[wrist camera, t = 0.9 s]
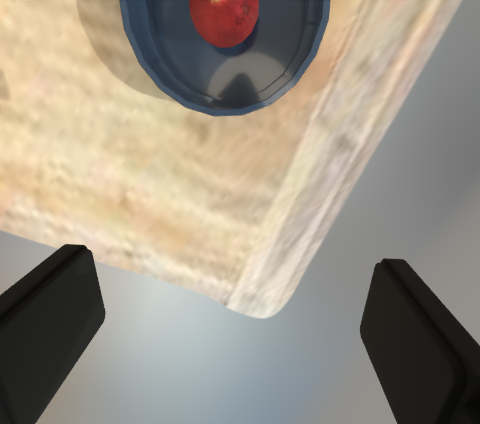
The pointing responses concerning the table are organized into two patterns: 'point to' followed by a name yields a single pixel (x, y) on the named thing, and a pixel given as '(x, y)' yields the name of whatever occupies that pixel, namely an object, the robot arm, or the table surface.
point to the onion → (224, 20)
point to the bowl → (225, 53)
